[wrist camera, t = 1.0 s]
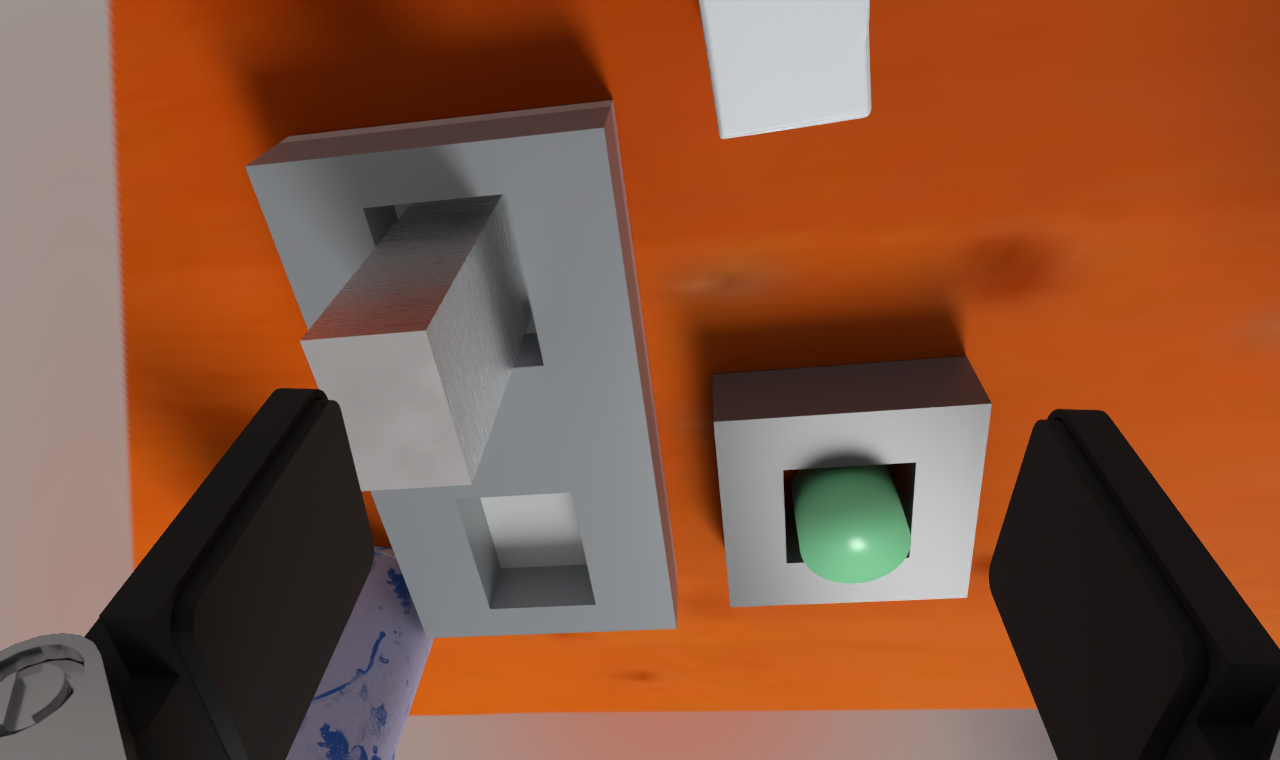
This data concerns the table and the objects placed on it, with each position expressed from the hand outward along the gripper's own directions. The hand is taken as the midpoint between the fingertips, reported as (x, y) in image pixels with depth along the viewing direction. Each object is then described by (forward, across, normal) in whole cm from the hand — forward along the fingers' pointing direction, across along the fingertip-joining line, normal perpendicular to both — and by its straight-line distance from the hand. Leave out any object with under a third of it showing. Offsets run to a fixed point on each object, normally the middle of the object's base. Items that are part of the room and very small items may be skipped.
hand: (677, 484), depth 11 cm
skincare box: (+26, -2, -4) cm, 26 cm away
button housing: (+25, -8, +20) cm, 33 cm away
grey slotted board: (+25, +8, +15) cm, 31 cm away
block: (+24, +9, +8) cm, 27 cm away
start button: (+23, -8, +19) cm, 32 cm away
